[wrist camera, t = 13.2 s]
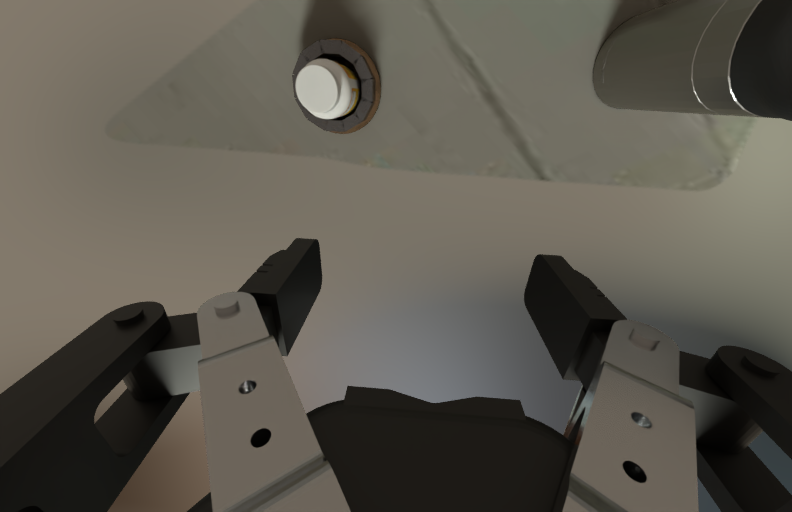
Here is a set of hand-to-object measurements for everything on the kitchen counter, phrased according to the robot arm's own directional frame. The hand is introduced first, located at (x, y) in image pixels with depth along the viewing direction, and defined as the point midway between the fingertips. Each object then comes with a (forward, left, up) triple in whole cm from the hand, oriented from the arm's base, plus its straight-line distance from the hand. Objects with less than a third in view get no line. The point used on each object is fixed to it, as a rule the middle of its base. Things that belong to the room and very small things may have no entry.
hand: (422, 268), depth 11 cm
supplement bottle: (+10, -6, -31) cm, 33 cm away
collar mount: (+10, -6, -32) cm, 34 cm away
